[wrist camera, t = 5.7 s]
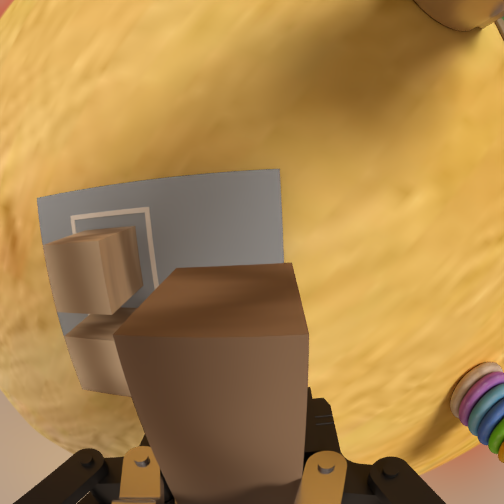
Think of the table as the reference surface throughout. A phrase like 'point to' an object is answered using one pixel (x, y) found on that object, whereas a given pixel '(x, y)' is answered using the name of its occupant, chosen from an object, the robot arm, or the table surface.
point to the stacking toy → (482, 405)
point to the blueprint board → (176, 222)
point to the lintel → (222, 382)
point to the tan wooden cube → (94, 270)
